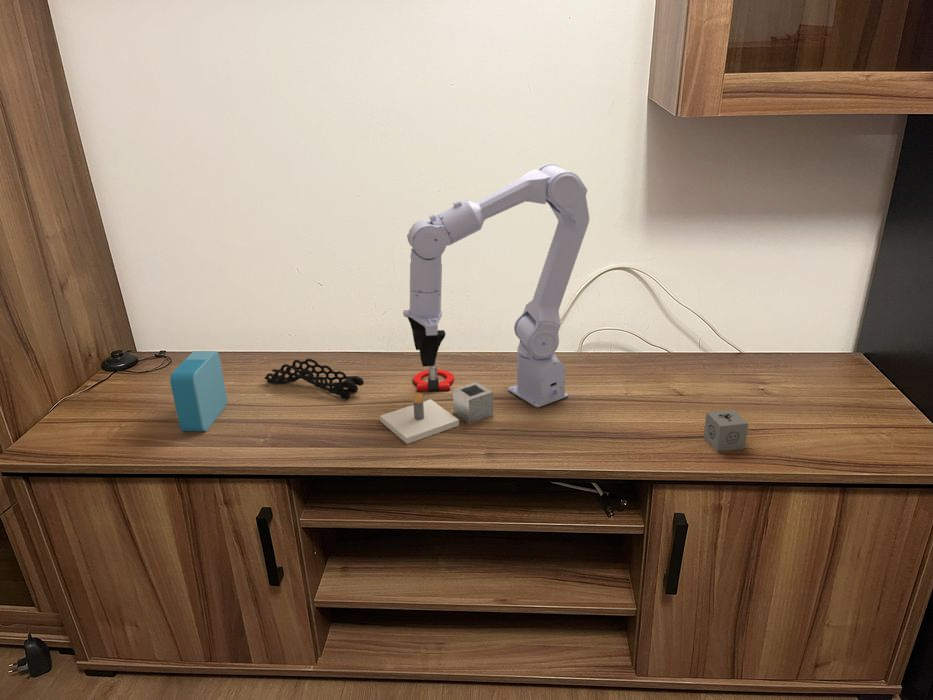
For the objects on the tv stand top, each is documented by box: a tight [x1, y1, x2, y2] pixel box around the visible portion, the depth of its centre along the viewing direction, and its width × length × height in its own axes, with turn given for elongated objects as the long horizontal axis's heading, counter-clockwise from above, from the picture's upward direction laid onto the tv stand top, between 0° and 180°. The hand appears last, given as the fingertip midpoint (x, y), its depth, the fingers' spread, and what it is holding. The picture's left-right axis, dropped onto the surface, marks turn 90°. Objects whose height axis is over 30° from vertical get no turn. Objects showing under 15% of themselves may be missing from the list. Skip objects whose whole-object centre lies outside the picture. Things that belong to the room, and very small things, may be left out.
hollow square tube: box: [452, 381, 494, 425], centre depth 135 cm, size 5×5×5 cm
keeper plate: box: [379, 392, 460, 445], centre depth 132 cm, size 10×11×6 cm
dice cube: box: [703, 409, 749, 453], centre depth 123 cm, size 5×5×5 cm
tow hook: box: [413, 361, 455, 392], centre depth 147 cm, size 8×13×9 cm
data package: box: [169, 350, 228, 432], centre depth 135 cm, size 12×4×12 cm, turn 177°
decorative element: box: [264, 358, 365, 400], centre depth 146 cm, size 22×5×6 cm, turn 68°
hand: (424, 357), depth 135 cm, fingers open, 7 cm apart
